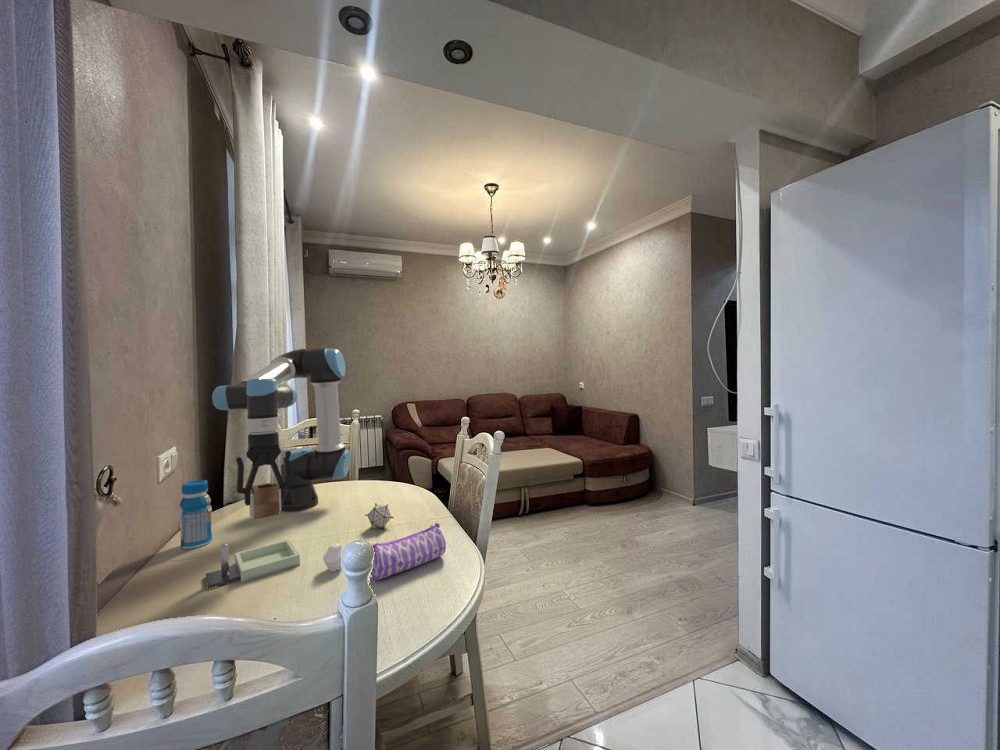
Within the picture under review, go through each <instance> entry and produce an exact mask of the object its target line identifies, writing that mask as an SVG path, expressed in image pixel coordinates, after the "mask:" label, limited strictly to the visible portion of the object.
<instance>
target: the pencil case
mask: <svg viewBox="0 0 1000 750" xmlns="http://www.w3.org/2000/svg"><path fill="white" fill-rule="evenodd" d="M440 525H441V524H440V523H438V522H435V523H434V524H433V525H430V526H429V527H426V528H424V529H422V530H421V531H418V532H415V533H412V534H409V535H407V536H405V537H401V538H399V539H394V540H391V541H387V542H383V543H382V542H380V543H378V542H377V543H373V544H372V543H371V544H372V546H373V548H374V552H375V554H374V560H373V569H372V572H371V574H370V576H372V579H375V581H380V580H381V579H386V578H387V577H388V578H389V576H393V575H394V574H395V575H396V574H399V573H401V572H404V571H407V570H410V569H412V568H415V567H418V566H420V565H424V564H425V563H426V564H427V563H428V562H430V561H433V560H435V559H438V558H440V557H442V556H444V554H445V553H446V548H447V545H446V539H445V536H444V534H443V532H442V531H441V529H440Z"/></svg>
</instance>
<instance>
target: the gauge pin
mask: <svg viewBox="0 0 1000 750" xmlns="http://www.w3.org/2000/svg"><path fill="white" fill-rule="evenodd" d="M220 559H221V560H220V563H221V564H220V567H221V569H218V570H214V571H210V572H207V573H205V580H206V587H207V590H210V589H209V588H211V589H213V588H212V587H215V586H218V587H220V586H219V585H221V586H224V585H223V584H225V585H228V584H231V583H235V582H237V580H238V581H241V579H240V573H239V570H238V567H237V565H236V564H235V565H232V566H229V544H228V542H227V543H226V542H224V543H221V544H220ZM234 581H235V582H234ZM227 583H228V584H227ZM215 588H216V587H215Z"/></svg>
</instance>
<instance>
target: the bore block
mask: <svg viewBox="0 0 1000 750" xmlns="http://www.w3.org/2000/svg"><path fill="white" fill-rule="evenodd" d="M251 492H253V494H254V517H253V519H254V520H259V519H263V518H268V517H272V516H273V517H274V516H277V515H280V514H281V513H280V512H281V511H279V485H278V483H277V482H275V481H272V482H267V483H261V484H255V485H254V484H253V486H252V489H251Z"/></svg>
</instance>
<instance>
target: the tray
mask: <svg viewBox="0 0 1000 750" xmlns="http://www.w3.org/2000/svg"><path fill="white" fill-rule="evenodd" d="M300 556H301V555H300V552H298V550H297V549H296V547H295V546H294V545H293V543H292V542H291V540H290V539H285V540H281V541H277V542H273V543H269V544H265V545H262V546H258V547H254V548H249V549H245V550H242V551H239V552H235V553H234V561H235V562H234V563H235V565H237V567H238V570H239V573H240V579H241V580H240V582H241V583H245V581H246V582H248V581H251V580H255V579H259V578H261V577H266V576H269V575H272V574H275V573H274V572H276V573H278V571H279V572H282V571H286V570H289V569H292V568H295V567H298V566H300V565H301V559H300V558H301V557H300ZM285 569H286V570H285ZM271 573H272V574H271ZM268 574H269V575H268ZM265 575H266V576H265Z"/></svg>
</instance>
